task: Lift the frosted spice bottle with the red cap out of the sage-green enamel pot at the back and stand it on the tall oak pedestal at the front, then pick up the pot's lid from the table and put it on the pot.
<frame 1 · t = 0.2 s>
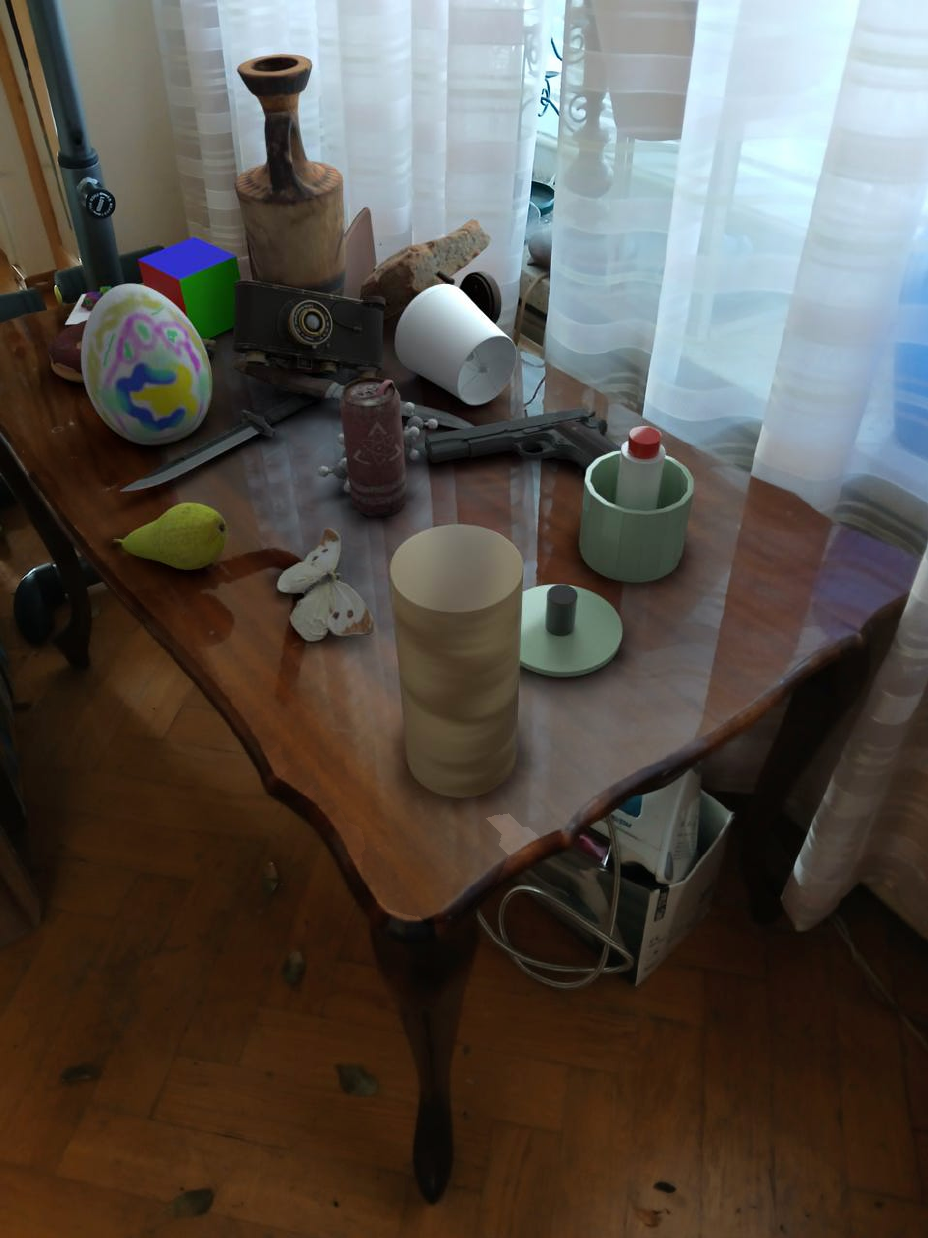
handgun: (555, 492, 91), point 1 cm above the table
letter holder: (322, 299, 123), on the table
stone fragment: (467, 229, 118), point 8 cm above the table, touching light fixture
thin white sheet: (102, 308, 121), on the table
cube: (201, 323, 119), on the table
can: (380, 502, 93), on the table
light fixture: (412, 294, 112), point 5 cm above the table, touching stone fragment
spice bottle: (630, 544, 87), resting on pot
molecular model: (397, 461, 94), point 2 cm above the table
knife 2: (357, 403, 103), point 1 cm above the table, touching camera, knife
butterfly: (330, 603, 83), on the table
decorative egg: (162, 425, 102), on the table
pot lid: (559, 631, 79), point 1 cm above the table
vase: (312, 356, 112), on the table
fish: (151, 344, 106), point 4 cm above the table
pot: (629, 548, 87), on the table
fruit: (225, 529, 84), point 4 cm above the table
camera: (316, 290, 103), point 10 cm above the table, touching knife 2
donut: (101, 367, 111), on the table
pedestal: (461, 752, 71), on the table
knife: (245, 451, 97), point 1 cm above the table, touching knife 2
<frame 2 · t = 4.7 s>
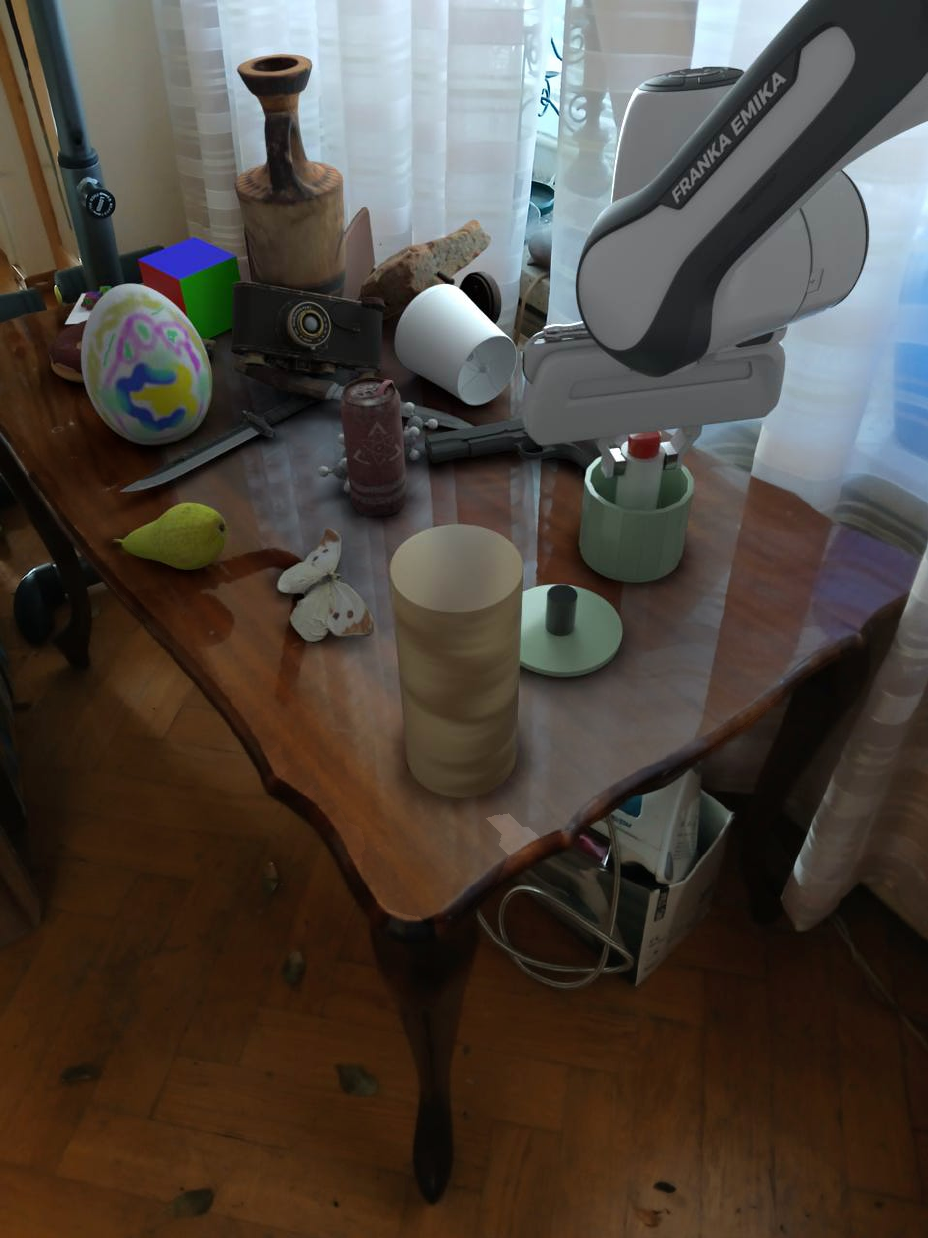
hand: (641, 469, 81), 9 cm above the table, tool pointing down, fingers closed on spice bottle, 3 cm apart
spice bottle: (630, 544, 87), point 1 cm above the table, touching gripper, pot
knife 2: (357, 404, 103), point 1 cm above the table, touching knife
camera: (314, 291, 102), point 10 cm above the table
everything else where it was.
when the fingers open (26 cm above the table, at t = 11.7 s): spice bottle stays where it is, resting on pedestal.
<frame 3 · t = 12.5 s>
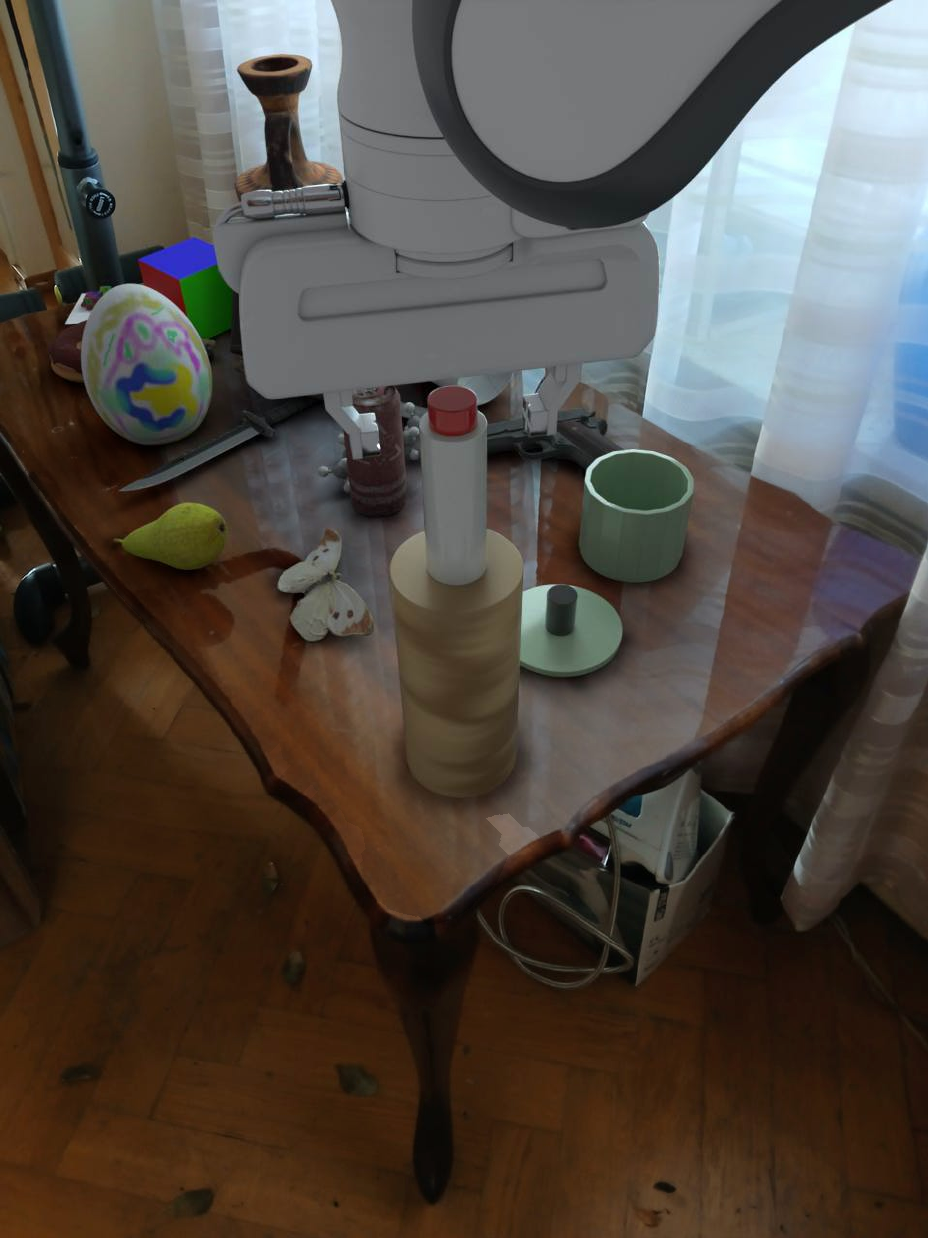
hand: (453, 441, 52), 27 cm above the table, tool pointing down, fingers open, 8 cm apart
spice bottle: (456, 565, 59), point 18 cm above the table, touching pedestal
knife 2: (358, 404, 103), point 1 cm above the table, touching camera, knife
camera: (314, 292, 102), point 10 cm above the table, touching knife 2
everything else where it was.
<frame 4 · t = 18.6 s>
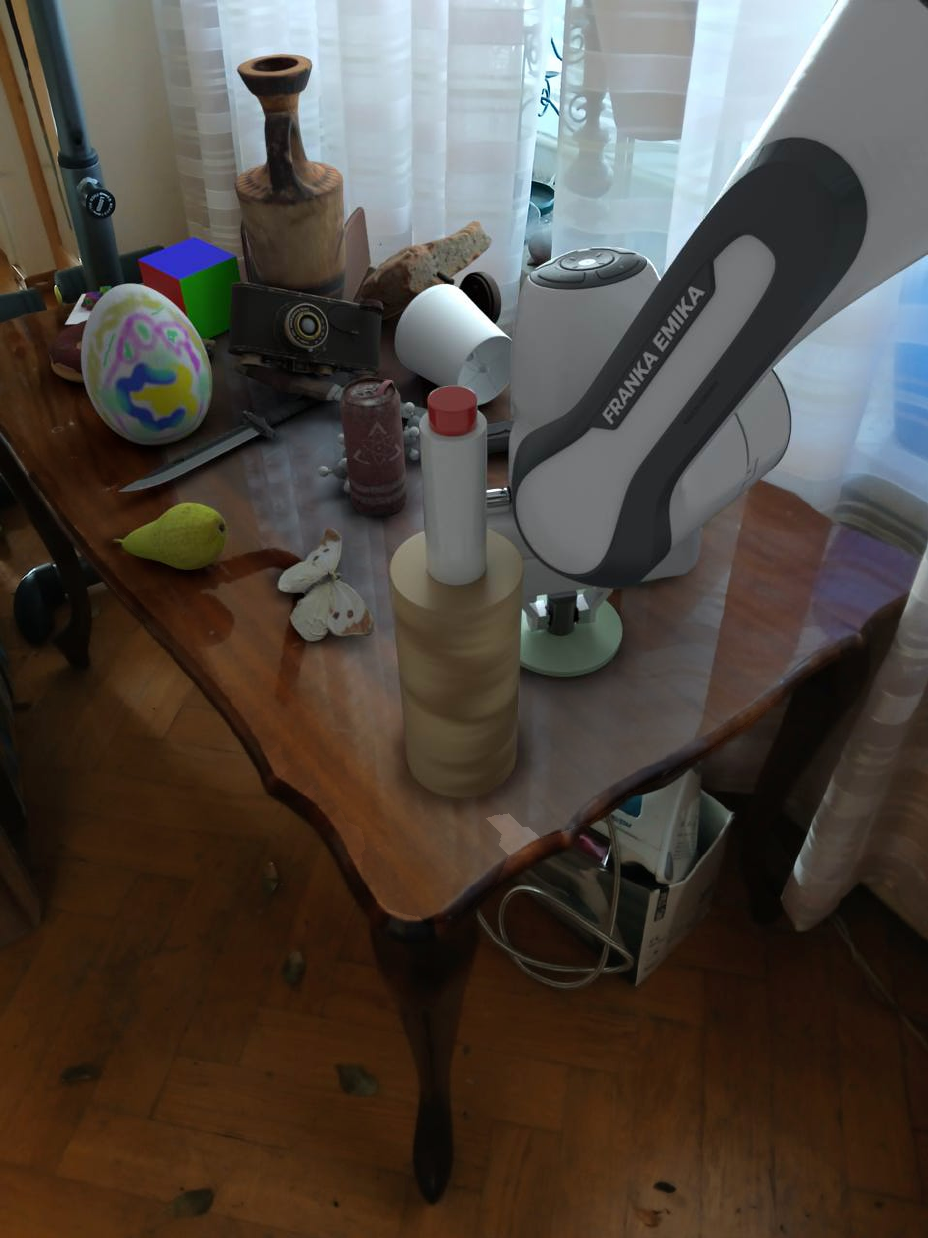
hand: (560, 621, 78), 2 cm above the table, tool pointing down, fingers closed on pot lid, 2 cm apart
pot lid: (559, 631, 79), point 1 cm above the table, touching gripper
everything else where it was.
when the fingers open (9 cm above the table, at t = 24.0 s): pot lid stays where it is, resting on pot.
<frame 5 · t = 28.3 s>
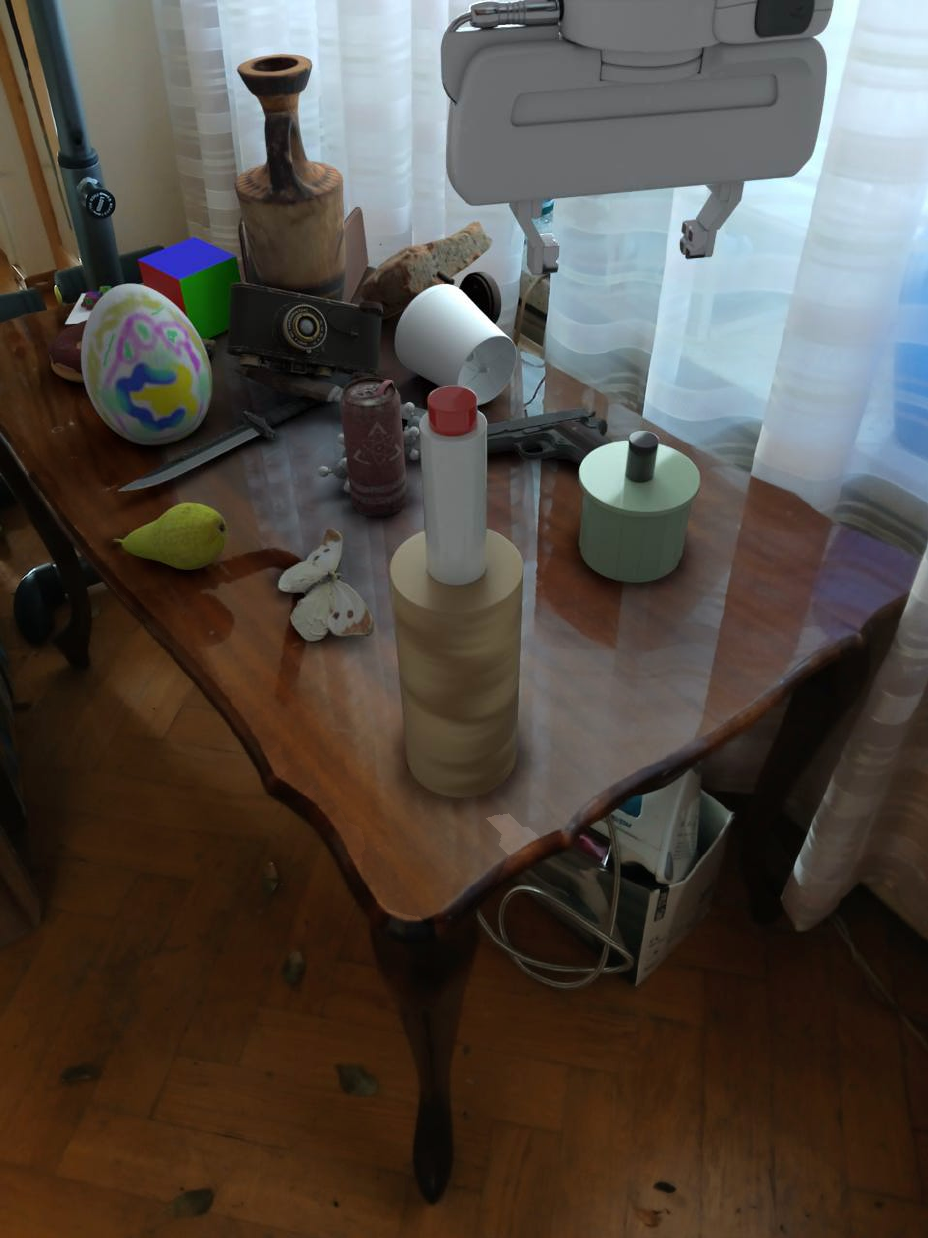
hand: (619, 262, 58), 31 cm above the table, tool pointing down, fingers open, 8 cm apart
pot lid: (638, 480, 82), point 7 cm above the table, touching pot
everything else where it was.
at the end: spice bottle 0.0 cm off-centre on the pedestal, point 18.0 cm above the pedestal's base; spice bottle tilted 0°; pot lid 0.1 cm off-centre on the pot, point 7.5 cm above the pot's base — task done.
